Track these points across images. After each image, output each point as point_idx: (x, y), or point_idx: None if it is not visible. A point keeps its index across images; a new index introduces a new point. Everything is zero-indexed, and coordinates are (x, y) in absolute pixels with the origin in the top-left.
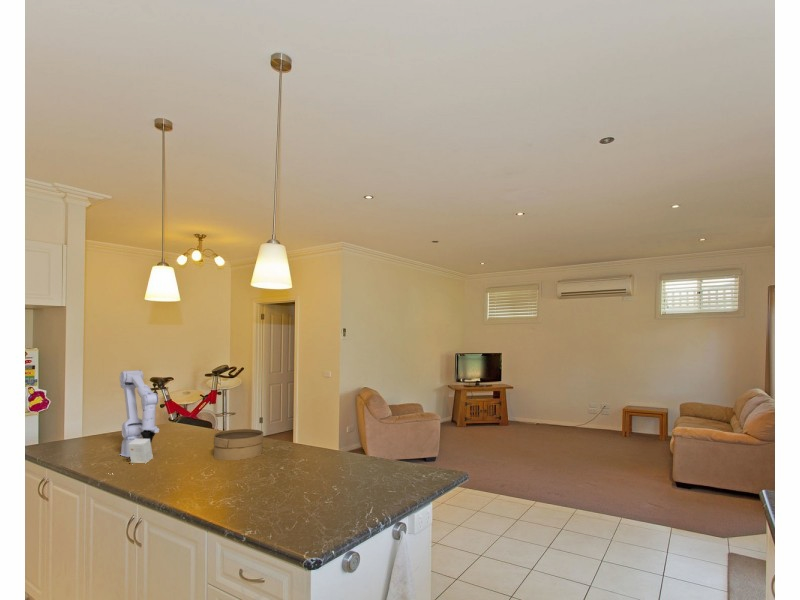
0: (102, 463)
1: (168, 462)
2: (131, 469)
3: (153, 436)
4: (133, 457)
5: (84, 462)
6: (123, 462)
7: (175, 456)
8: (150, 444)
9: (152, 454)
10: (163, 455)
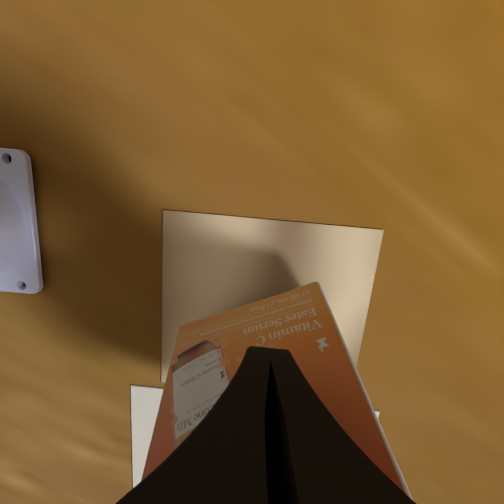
0: (46, 452)
1: (479, 236)
2: None
3: (390, 481)
4: None
5: None
6: (139, 385)
7: (370, 38)
8: (386, 439)
9: (327, 302)
10: (217, 75)
